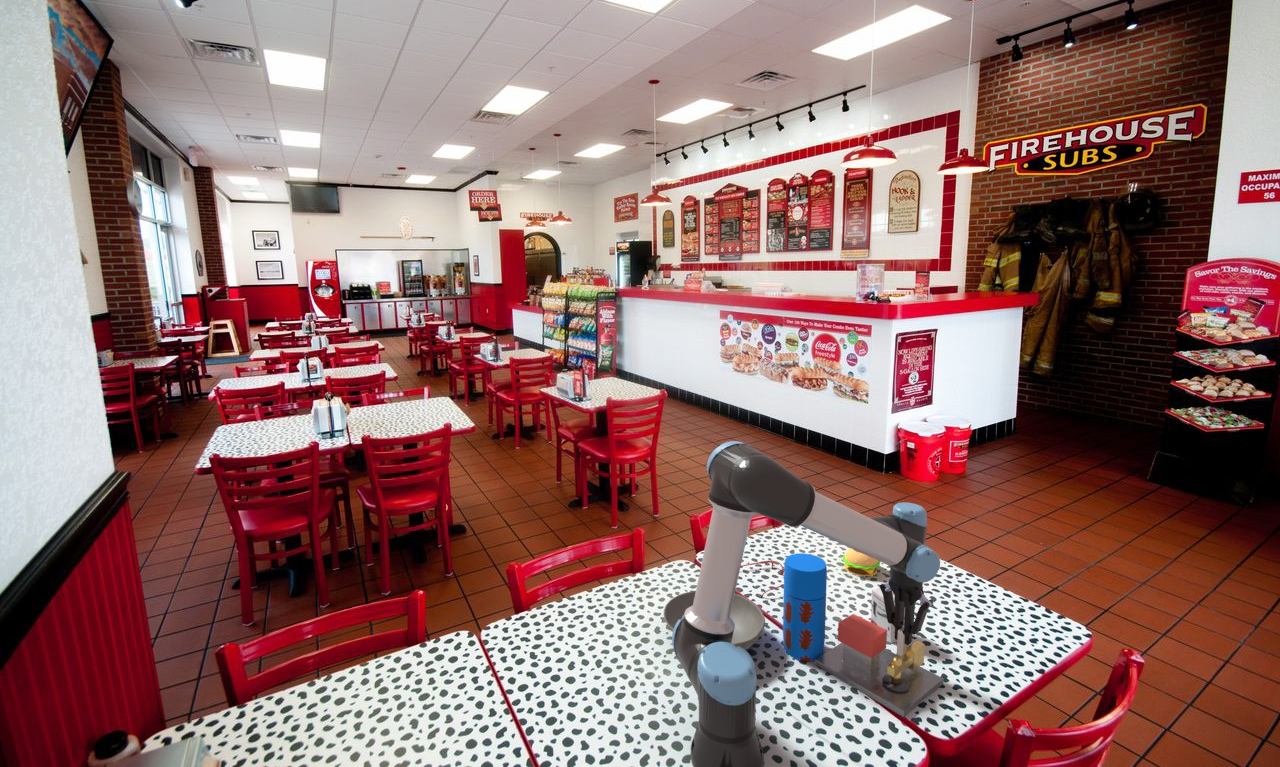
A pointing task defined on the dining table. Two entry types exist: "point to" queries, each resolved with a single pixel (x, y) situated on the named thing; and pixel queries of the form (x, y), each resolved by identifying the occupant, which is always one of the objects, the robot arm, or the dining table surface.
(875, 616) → the ink box
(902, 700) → the panel
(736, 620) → the bowl
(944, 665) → the dining table surface
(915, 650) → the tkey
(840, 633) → the cover
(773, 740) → the dining table surface
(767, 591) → the red eyeglasses
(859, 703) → the dining table surface
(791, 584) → the thermos
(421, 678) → the dining table surface
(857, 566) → the hamburger
